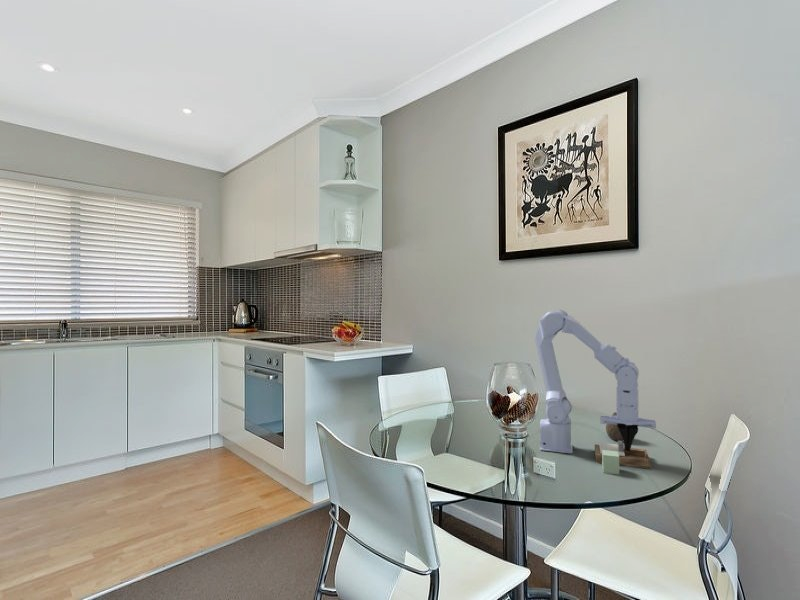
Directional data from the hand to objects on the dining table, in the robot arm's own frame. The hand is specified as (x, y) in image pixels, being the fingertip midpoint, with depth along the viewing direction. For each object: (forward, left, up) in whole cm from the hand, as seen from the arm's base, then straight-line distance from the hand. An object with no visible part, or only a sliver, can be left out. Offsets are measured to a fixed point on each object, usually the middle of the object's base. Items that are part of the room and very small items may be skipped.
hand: (627, 449), depth 129 cm
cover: (-4, 0, -1) cm, 4 cm away
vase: (-1, +18, -3) cm, 19 cm away
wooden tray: (-2, 0, -3) cm, 4 cm away
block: (-5, -10, -3) cm, 11 cm away
